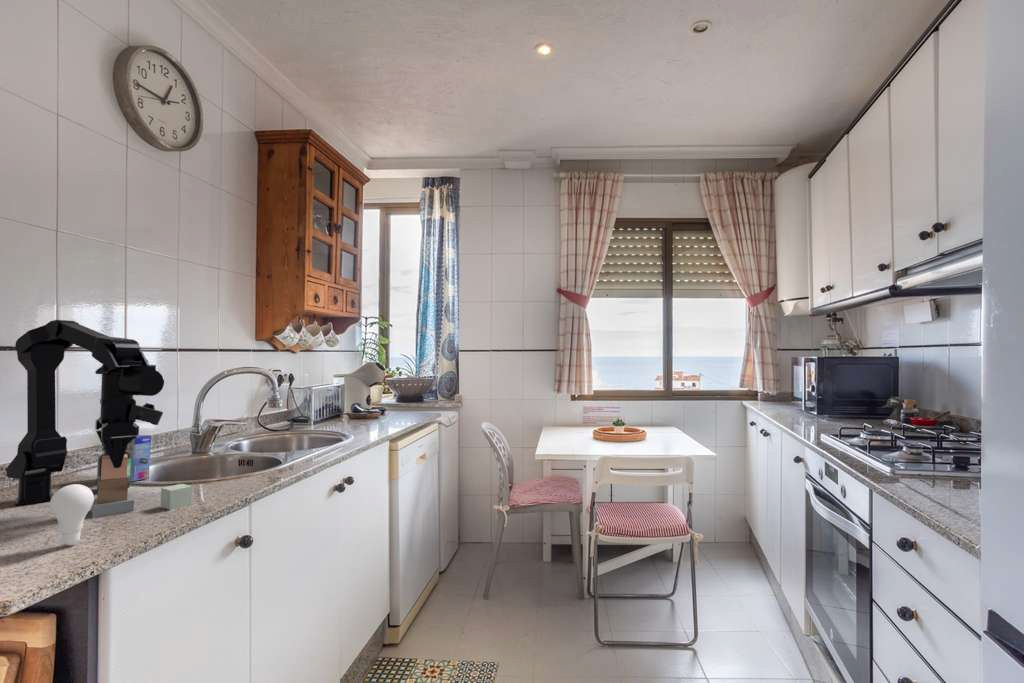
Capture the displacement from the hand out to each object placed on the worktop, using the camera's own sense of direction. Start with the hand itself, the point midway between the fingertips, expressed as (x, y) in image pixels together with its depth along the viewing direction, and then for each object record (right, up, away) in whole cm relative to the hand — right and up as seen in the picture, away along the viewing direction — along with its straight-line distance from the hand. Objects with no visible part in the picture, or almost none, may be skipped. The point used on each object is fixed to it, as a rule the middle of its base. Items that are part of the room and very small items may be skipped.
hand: (115, 464), depth 114 cm
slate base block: (0, -11, 0) cm, 11 cm away
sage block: (+11, -11, +3) cm, 16 cm away
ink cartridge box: (-19, -11, +29) cm, 36 cm away
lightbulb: (+8, -10, -21) cm, 25 cm away
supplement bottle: (-14, -11, +18) cm, 25 cm away
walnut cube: (0, -8, 0) cm, 8 cm away
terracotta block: (0, -3, 0) cm, 3 cm away
